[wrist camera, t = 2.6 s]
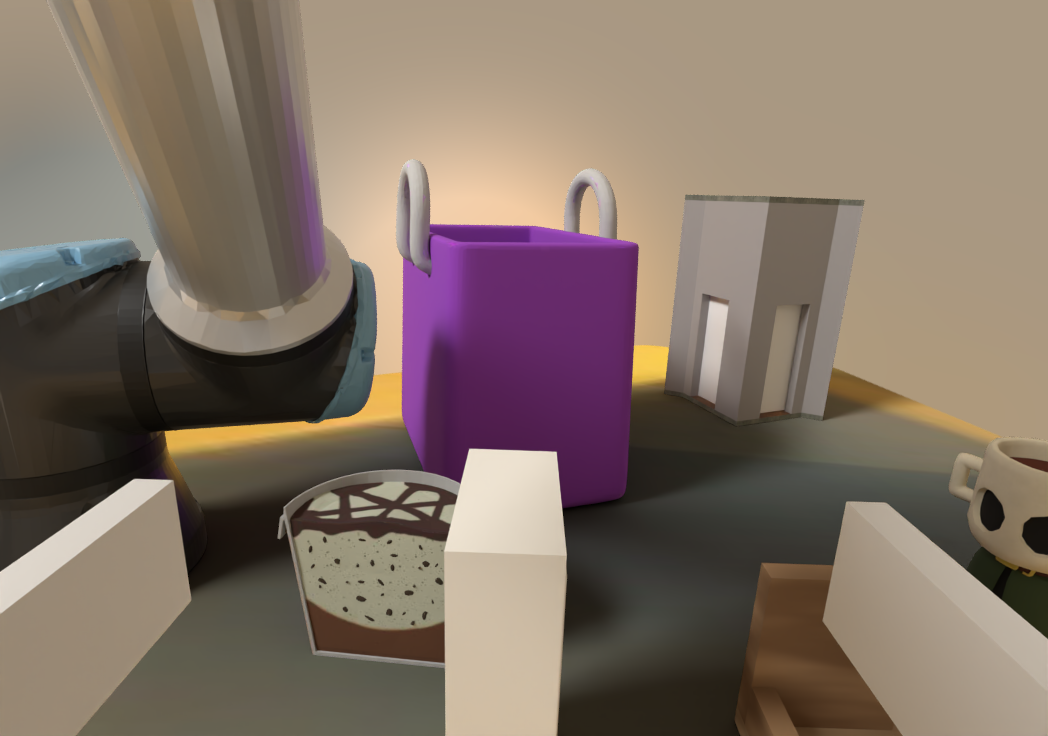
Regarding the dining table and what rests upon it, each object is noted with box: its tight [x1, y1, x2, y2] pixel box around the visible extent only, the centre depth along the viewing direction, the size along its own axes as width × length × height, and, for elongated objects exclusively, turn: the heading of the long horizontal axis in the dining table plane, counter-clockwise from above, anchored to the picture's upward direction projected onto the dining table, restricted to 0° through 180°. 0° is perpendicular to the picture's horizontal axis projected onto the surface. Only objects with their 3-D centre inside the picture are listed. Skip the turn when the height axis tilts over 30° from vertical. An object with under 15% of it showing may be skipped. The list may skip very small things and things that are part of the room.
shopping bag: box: [396, 159, 639, 508], centre depth 59 cm, size 28×22×30 cm
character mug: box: [949, 437, 1048, 639], centre depth 37 cm, size 11×7×13 cm, turn 24°
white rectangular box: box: [444, 449, 567, 736], centre depth 25 cm, size 8×4×16 cm, turn 179°
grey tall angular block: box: [664, 195, 864, 426], centre depth 74 cm, size 21×10×28 cm, turn 64°
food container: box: [278, 470, 461, 668], centre depth 36 cm, size 12×6×10 cm, turn 85°
